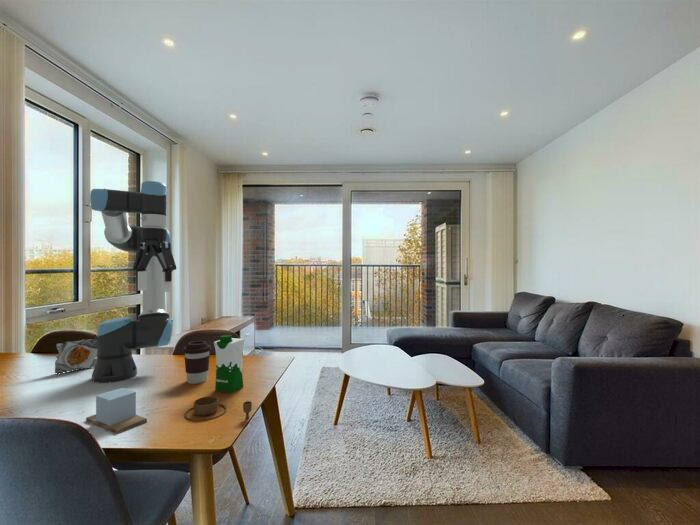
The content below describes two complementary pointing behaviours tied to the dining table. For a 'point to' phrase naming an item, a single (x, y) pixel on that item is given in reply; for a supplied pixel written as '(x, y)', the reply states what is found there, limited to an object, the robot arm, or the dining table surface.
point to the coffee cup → (197, 361)
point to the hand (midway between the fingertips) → (154, 291)
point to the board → (118, 426)
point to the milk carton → (228, 364)
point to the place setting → (213, 408)
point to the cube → (115, 406)
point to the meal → (76, 355)
